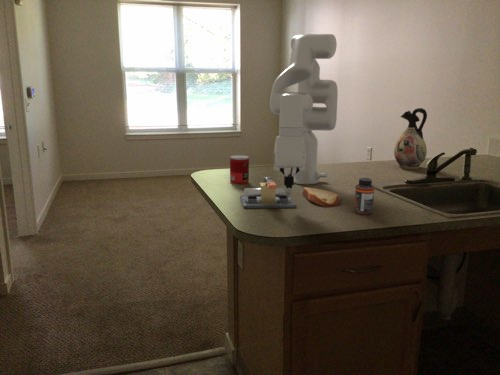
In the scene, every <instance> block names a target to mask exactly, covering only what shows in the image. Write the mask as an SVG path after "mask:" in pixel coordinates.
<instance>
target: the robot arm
mask: <svg viewBox="0 0 500 375" xmlns="http://www.w3.org/2000/svg"><path fill="white" fill-rule="evenodd" d="M290 47H291V48H290V49H291V53H290V60H289V66H288V67H287V68H286V69H285V70H284V71H282V72H281V73H280V74H279V75H278V76H277V77H276V79H275V80H274V82H273V84H272V88H271V93H270V97H269V108H270V109H269V110H270V111H271V112H272V113H273V114H275V115H279V123H278V124H279V125H278V127H279V128H278V135H277V136H276V137H275V140H274V150H273V166H272V167H273V168H272V169H273V170H274V171H277V172H281V173H282V174H283V185H284V186H285V188H290V189H292V188H293V186H294V185H295V184H297V185H317V184H319V183H320V178H322V179H324V178H328V173H327V172H319V171H318V170H317V162H318V161H317V160H318V138H317V136H316V135H315V134H314V132H313V131H323V132H324V131H333V130H335V128H336V126H337V116H338V115H337V114H338V98H339V97H338V95H339V94H338V91H339V90H338V85H337V82H336V81H335V80H332V79H321V78H320V77H321V76H320V74H321V72H320V71H321V66H320V64H319V63H318V61H317V60H325V59H326V60H327V59H328V60H330V59H332V58H333V57H334V55H335V54H336V51H337V47H338V44H337V38H336V36H335V34H332V33H319V34H316V33H305V34H304V33H303V34H296V35H294V36H293V37H291V39H290ZM296 84H297V92H294V91H289V92H288V91H285V90H286V89H287V88H288V87H291V86H293V85H296ZM314 104H317V105H318V104H320V105H325V106H314ZM288 168H290V172H289V169H288Z"/></svg>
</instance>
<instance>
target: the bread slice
mask: <svg viewBox="0 0 500 375" xmlns="http://www.w3.org/2000/svg"><path fill="white" fill-rule="evenodd" d="M301 194H302V195H303V197H305V199H306V200H308V201H309V202H311V203H313V204H315V205H316V206H320V207H325V208H332V207H337V206H338V204H340V203H341V198H340V196H339V194H338V193H336V192H334V191H329V190H325V189H320V188H315V187H308V186H307V187H303V189H302V192H301Z"/></svg>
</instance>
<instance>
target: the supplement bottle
mask: <svg viewBox="0 0 500 375" xmlns="http://www.w3.org/2000/svg"><path fill="white" fill-rule="evenodd" d="M372 184H373V179H371V178H370V177H369V178H368V177H360V178H359V179H358V184H357V185H356V186H355V193H354V203H353V204H354V207H353V211H354V212H355V214H358V215H371V214H372V213H373V208H374V197H375V187H374V186H373V185H372Z"/></svg>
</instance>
